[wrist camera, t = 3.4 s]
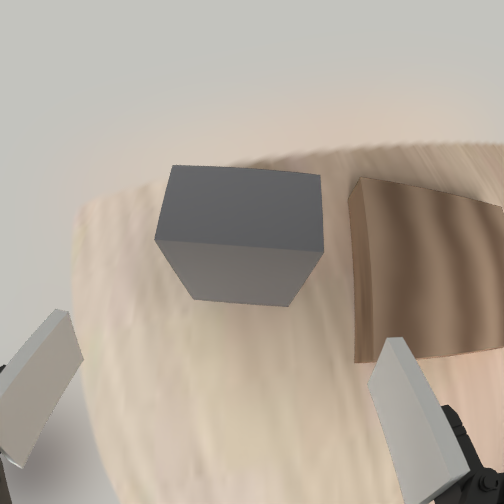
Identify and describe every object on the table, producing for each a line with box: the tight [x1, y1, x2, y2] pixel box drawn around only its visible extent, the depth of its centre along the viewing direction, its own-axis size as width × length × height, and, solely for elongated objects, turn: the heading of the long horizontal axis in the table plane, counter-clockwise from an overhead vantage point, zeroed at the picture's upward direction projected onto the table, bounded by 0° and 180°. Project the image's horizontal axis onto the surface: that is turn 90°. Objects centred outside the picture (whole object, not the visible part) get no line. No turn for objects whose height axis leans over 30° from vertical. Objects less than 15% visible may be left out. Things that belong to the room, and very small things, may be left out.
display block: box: [348, 177, 504, 363], centre depth 24 cm, size 20×16×4 cm
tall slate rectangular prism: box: [154, 165, 324, 307], centre depth 20 cm, size 8×5×12 cm, turn 86°
